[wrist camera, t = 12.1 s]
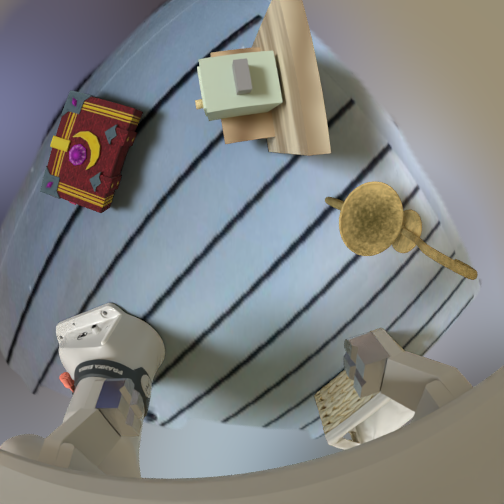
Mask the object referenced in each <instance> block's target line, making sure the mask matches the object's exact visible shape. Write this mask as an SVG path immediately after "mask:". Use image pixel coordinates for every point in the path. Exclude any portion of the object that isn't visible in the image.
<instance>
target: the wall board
mask: <svg viewBox="0 0 504 504" xmlns="http://www.w3.org/2000/svg"><path fill="white" fill-rule="evenodd" d="M260 51H273V52H274V57H275V62H276V68H277V73H278V78H279V84H280V90H281V96H282V102H283V103H281V104H279V105H278V106H276V107H275V108H273V109H272V110H270V111H269V112H266V113H258V114H250V115H243V116H236V117H230V118H224V119H221V122H222V127H223V133H224V139H225V144H229V143H235V142H241V141H248V140H255V139H262V138H267V144H268V151H269V152H277V153H288V154H299V155H308V156H309V155H318V154H328V153H331V148H330V140H329V133H328V125H327V118H326V112H325V105H324V99H323V93H322V88H321V82H320V77H319V71H318V66H317V61H316V56H315V52H314V47H313V42H312V38H311V34H310V29H309V25H308V21H307V17H306V13H305V9H304V6H303V2H302V0H272V1H271V3H270V5H269V8H268V10H267V12H266V15H265V17H264V19H263V22H262V24H261V26H260V29H259V31H258V33H257V36H256V38H255V41H254V43H253V46H252V48H245V49H236V50H228V51H220V52H214V53H211V57H217V56H224V55H231V54H239V53H249V52H260Z"/></svg>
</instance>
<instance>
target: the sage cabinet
mask: <svg viewBox="0 0 504 504" xmlns="http://www.w3.org/2000/svg"><path fill="white" fill-rule="evenodd" d="M199 66H200V67H197V70H198V76H199V83H200V89H201V95H202V99H200V100H195V102H196V108H197V109H201V108H204V111H205V115H206V116H208V119H209V121H212V120H218V119H224V118H230V117H236V116H243V115H250V114H258V113H266V112H269V111H270V110H272V109H273V108H275V107H276V106H278V105H279V104H281V103H283V102H282V96H281V90H280V84H279V78H278V73H277V68H276V62H275V57H274V52H273V51H260V52H249V53H239V54H231V55H224V56H217V57H210V58H204V59H199Z"/></svg>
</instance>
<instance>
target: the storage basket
mask: <svg viewBox="0 0 504 504" xmlns="http://www.w3.org/2000/svg"><path fill="white" fill-rule="evenodd" d="M390 337H391V336H390ZM391 338H392V337H391ZM393 341H394V340H393ZM394 342H395V343H396V341H394ZM396 344H397V343H396ZM397 345H398V347H399V348H400V349H401V350H402V351H403V352H405V350H404V349H403V348H402V347H401V346H400V345H399V344H397ZM353 385H354V380H352V379H349V377H348V375H347V373H346V371H345V370H343V371H342V372H341V373H340V374H339V375H338V376H337V377H335V378H334V379H333V380H331V381H330V382H329V383H328V384H327V385H326V386H324V387H323V388H322V389H321V390H320V391H318V392H317V393H316V394H315V395H314V398H315V401H316V404H317V407H318V410H319V414H320V418H321V420H322V425H323V426H324V427H323V430H324V433H325V438H326V440H327V442H328V444H329V445H332V446H334V447H337V448H341V449H344V450H346V449H349V448H352V447H355V446H357V445H360V444H363V443H366V442H368V441H371V440H373V439H376V438H378V437H381V436H383V435H386V434H388V433H390V432H393V431H395V430H397V429H399V428H400V427H401V426H403V425H404V424H405V423H406V422H408V421H409V420H410V419H411V418H413V416H414V414H415V412H414V411H412V410H410V409H408V408H406V407H405V406H403V405H401V404H399V403H398V402H396V401H394V400H392V399H391V398H389V397H387V396H385V395H384V394H382V393H380V392H377V393H374V394H372V395H369V396H366V397H363V398H360V397H359V396H358V394H357V392H356V390H355V388H354V387H353ZM347 432H349V433H350V435H351V438H352V440H353V441H352V440H347V439H345V438H343V436H344V435H345V434H346V433H347Z"/></svg>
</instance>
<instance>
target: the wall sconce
mask: <svg viewBox="0 0 504 504" xmlns="http://www.w3.org/2000/svg"><path fill="white" fill-rule="evenodd" d="M325 202H326V203H327V204H328V205H330V206H332V207H334V208H336V209H338V210H341V212H340V217H339V229H340V234H341V237H342V239H343V242H344V243H345V245H346V246H347V247H348V248H349V249H350V250H351V251H352V252H354V253H356V254H358V255H362V256H372V255H376V254H379V253H381V252H383V251H384V250H386V249H387V248H388V247H389V246H391V244H392V246H393V248H394V249H395V250H396V251H398V252H400V253H407V252H409V251H411V250H412V249H413V248H414V247H415V246H416V245H417V246H418V247H419V249H420V250H421V251H422V252H423V253H424V254H425V255H427V256H428V257H430V258H431V259H433V260H435V261H436V262H438V263H440V264H441V265H443V266H445V267H447V268H448V269H450V270H452V271H454V272H456V273H458V274H460V275H462V276H464V277H466V278H468V279H471V280H474V279H476V278H477V271H476V270H475V269H473V268H472V267H470V266H469V265H467V264H465V263H463V262H461V261H460V260H457V259H455V260H453V259H451V258H449V257H448V256H446V255H444V254H442V253H440V252H439V251H437V250H435V249H434V248H432V247H430V246H429V245H427V244H426V243H425V242H424V241H423V240H422V239H421V238H420V236H421V231H422V222H421V218H420V216H419V215H418V213H417V212H415V211H413V210H405V211H403V207H402V203H401V200H400V198H399V196H398V194H397V193H396V191H395V190H394V189H393V188H392V187H390V186H389V185H387V184H385V183H382V182H368V183H364V184H362V185H360V186H358V187H357V188H356V189H354V190H353V191H352V192H351V193H350V194H349V196H348V197H347V198H346V200H345V202H344V201H341V200H338V199H335V198H332V197H326V198H325Z"/></svg>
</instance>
